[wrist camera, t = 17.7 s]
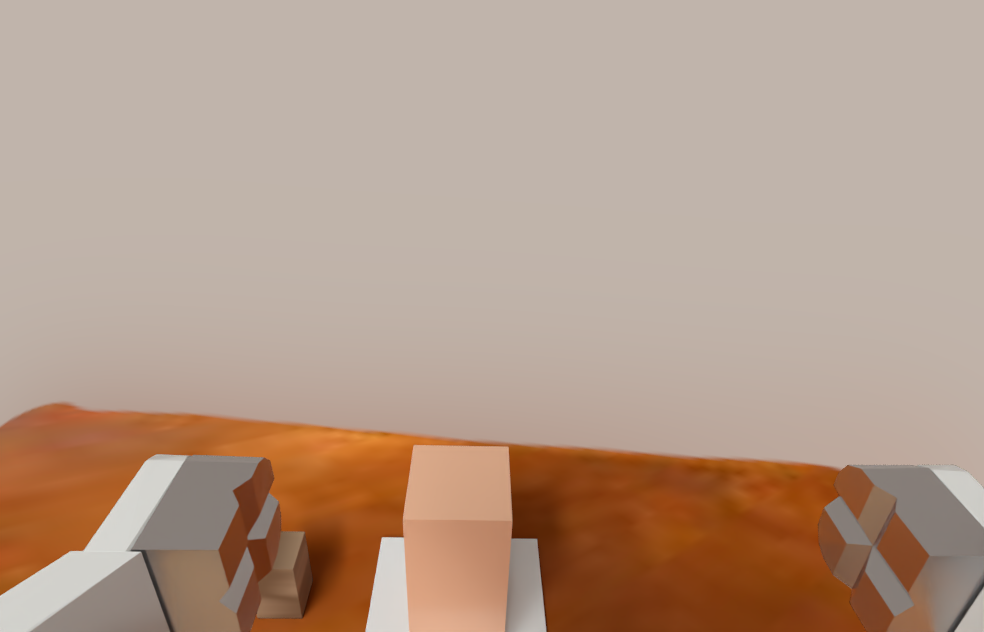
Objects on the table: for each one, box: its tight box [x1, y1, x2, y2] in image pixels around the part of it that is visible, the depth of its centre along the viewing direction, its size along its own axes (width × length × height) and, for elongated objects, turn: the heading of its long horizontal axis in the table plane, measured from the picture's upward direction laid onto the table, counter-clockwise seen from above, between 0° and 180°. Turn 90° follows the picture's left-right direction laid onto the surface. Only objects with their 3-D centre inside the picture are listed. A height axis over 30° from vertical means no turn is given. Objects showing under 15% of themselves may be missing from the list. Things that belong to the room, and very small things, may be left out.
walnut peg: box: [257, 532, 313, 618], centre depth 41 cm, size 3×3×5 cm
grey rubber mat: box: [366, 537, 546, 632], centre depth 42 cm, size 12×12×1 cm
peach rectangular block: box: [403, 445, 512, 632], centre depth 39 cm, size 6×6×12 cm
